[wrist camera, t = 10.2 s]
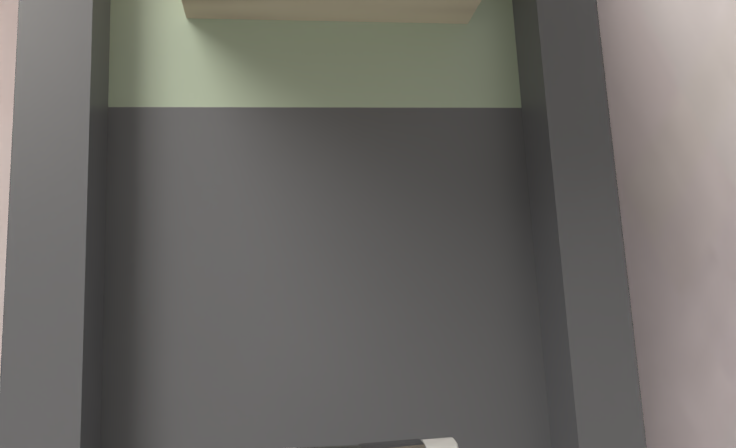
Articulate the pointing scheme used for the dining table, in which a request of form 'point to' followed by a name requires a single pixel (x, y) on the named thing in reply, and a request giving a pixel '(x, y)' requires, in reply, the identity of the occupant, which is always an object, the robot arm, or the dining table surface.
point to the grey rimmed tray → (314, 232)
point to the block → (336, 10)
